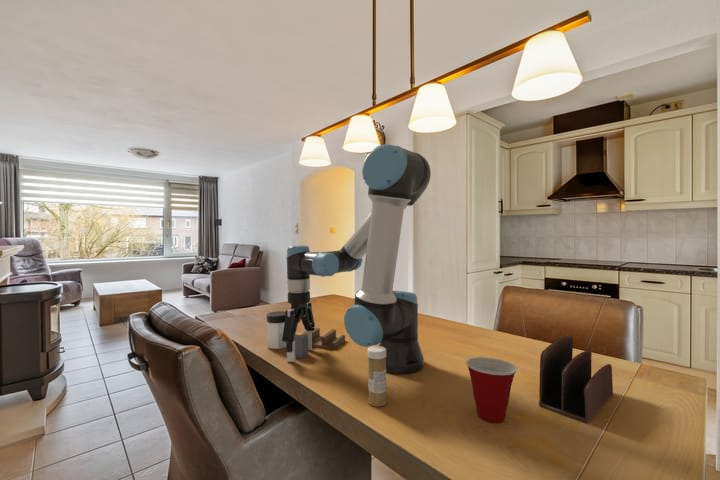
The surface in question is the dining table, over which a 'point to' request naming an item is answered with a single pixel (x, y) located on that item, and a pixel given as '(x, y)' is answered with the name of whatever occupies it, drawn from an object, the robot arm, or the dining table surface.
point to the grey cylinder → (301, 345)
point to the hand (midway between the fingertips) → (300, 355)
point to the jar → (275, 329)
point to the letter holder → (572, 382)
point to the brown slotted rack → (326, 339)
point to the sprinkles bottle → (377, 375)
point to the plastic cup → (491, 386)
